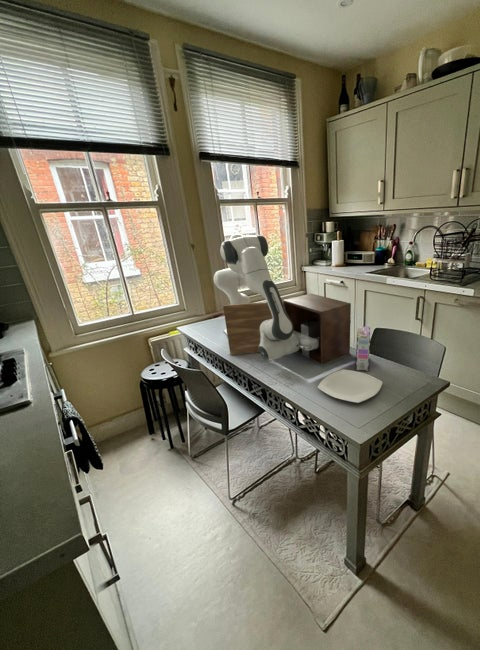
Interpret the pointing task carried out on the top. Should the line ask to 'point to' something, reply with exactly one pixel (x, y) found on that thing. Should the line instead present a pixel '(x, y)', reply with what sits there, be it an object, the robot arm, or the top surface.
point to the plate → (350, 386)
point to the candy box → (363, 348)
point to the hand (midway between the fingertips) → (313, 335)
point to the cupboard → (323, 323)
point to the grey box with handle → (311, 334)
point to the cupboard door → (245, 326)
